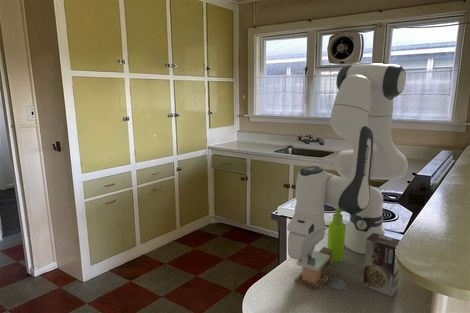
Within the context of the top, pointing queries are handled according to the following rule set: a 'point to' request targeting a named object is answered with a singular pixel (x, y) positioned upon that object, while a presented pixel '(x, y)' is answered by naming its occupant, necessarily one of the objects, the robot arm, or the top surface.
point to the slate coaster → (337, 284)
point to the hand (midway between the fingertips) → (306, 260)
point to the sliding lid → (315, 261)
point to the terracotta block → (311, 275)
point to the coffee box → (381, 264)
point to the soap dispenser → (336, 236)
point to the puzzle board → (323, 269)
